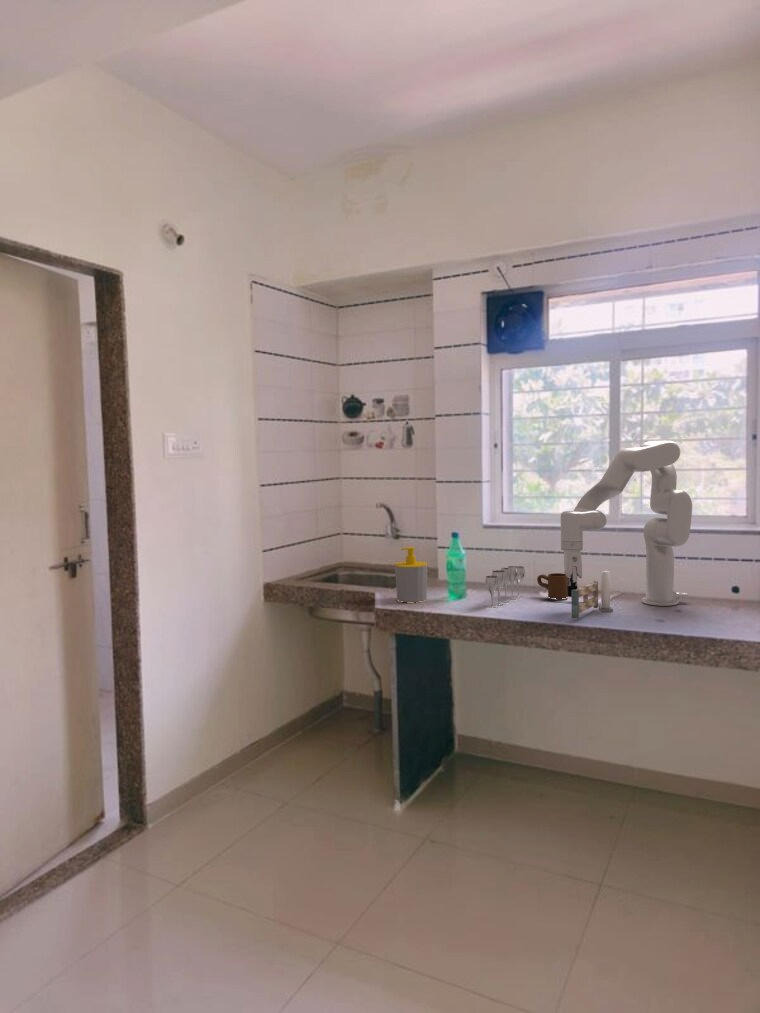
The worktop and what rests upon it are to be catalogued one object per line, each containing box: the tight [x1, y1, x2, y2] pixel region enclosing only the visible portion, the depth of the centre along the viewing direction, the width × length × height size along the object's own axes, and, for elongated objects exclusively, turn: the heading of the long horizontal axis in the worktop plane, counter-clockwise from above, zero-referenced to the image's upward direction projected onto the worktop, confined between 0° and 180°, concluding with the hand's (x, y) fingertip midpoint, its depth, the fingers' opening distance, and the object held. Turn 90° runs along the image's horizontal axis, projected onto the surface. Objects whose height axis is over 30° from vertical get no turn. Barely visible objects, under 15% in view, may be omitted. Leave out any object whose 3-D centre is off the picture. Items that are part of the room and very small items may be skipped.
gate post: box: [598, 570, 614, 613], centre depth 245 cm, size 4×5×14 cm
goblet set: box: [484, 565, 526, 608], centre depth 263 cm, size 28×6×13 cm, turn 144°
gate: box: [570, 580, 599, 620], centre depth 239 cm, size 20×2×10 cm, turn 141°
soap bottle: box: [394, 546, 428, 602], centre depth 271 cm, size 13×13×21 cm
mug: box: [536, 572, 569, 599], centre depth 268 cm, size 12×8×9 cm, turn 60°
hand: (572, 596), depth 245 cm, fingers closed
